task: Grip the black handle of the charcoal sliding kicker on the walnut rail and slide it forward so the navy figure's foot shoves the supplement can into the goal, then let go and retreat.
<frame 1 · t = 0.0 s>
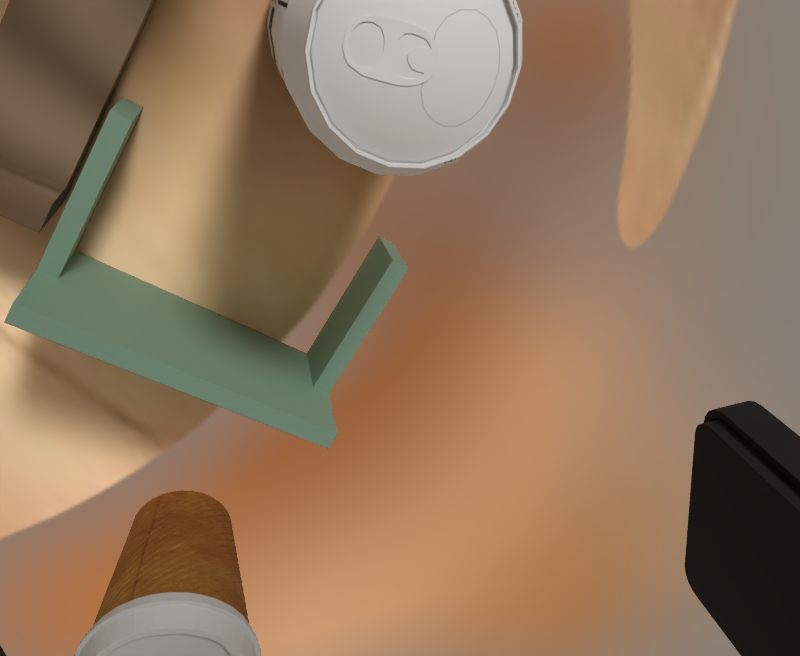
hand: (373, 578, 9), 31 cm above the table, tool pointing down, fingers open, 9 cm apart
disposable coffee cup: (183, 526, 47), on the table
supplement can: (349, 29, 35), on the table
goal: (229, 250, 39), on the table
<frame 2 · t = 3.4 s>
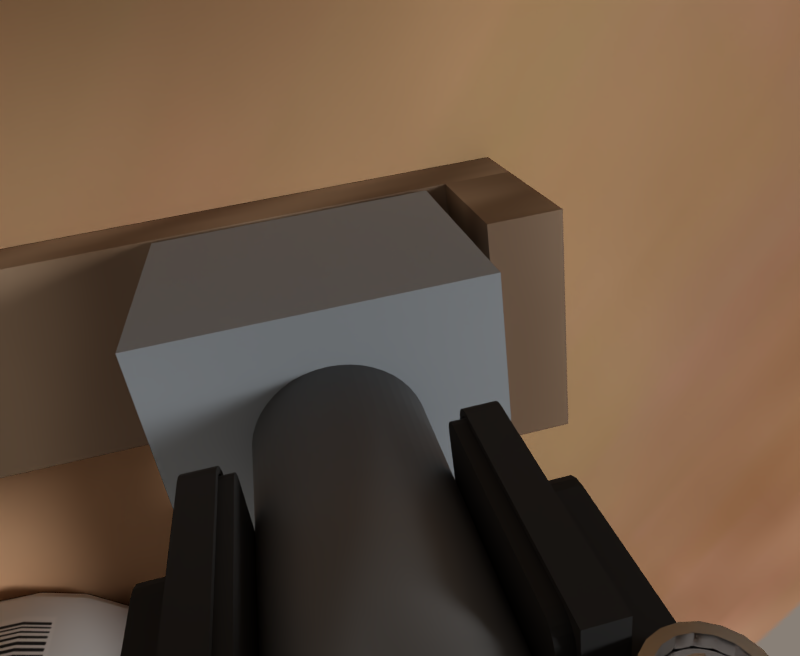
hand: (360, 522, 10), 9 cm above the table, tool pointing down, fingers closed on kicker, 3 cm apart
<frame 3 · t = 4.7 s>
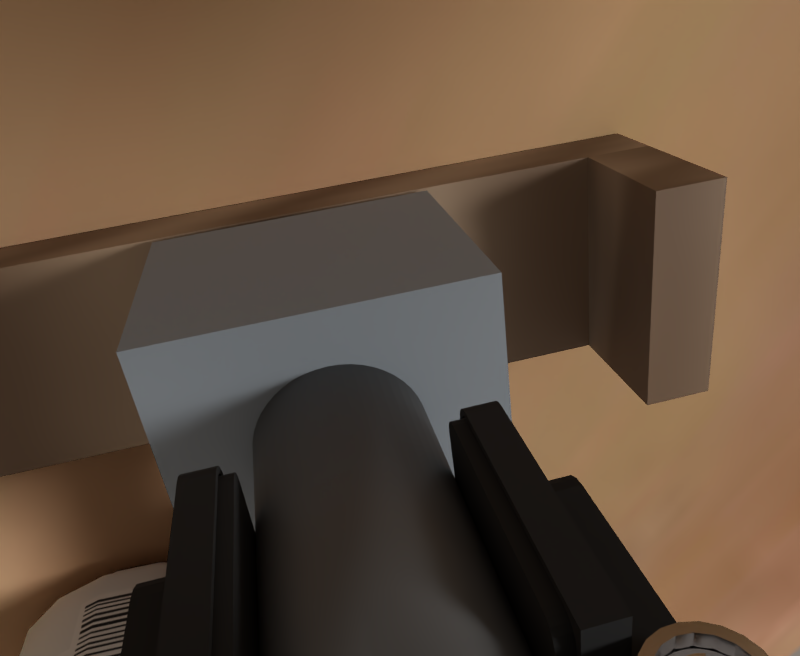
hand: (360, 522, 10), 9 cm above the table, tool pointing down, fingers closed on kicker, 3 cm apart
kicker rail: (39, 344, 17), on the table
supplement can: (167, 641, 22), on the table
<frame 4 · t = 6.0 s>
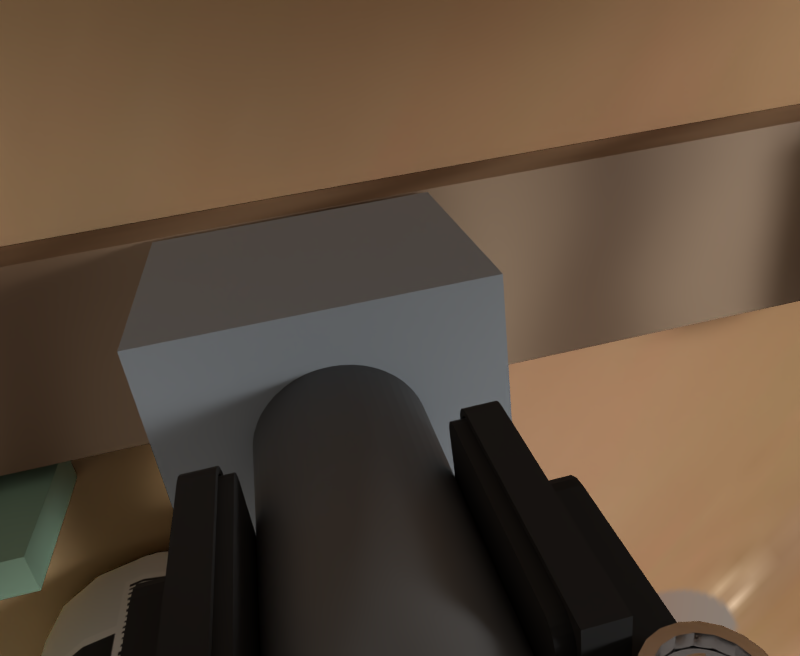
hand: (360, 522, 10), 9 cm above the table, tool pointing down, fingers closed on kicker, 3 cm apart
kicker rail: (366, 279, 18), on the table
supplement can: (193, 627, 22), on the table, touching kicker
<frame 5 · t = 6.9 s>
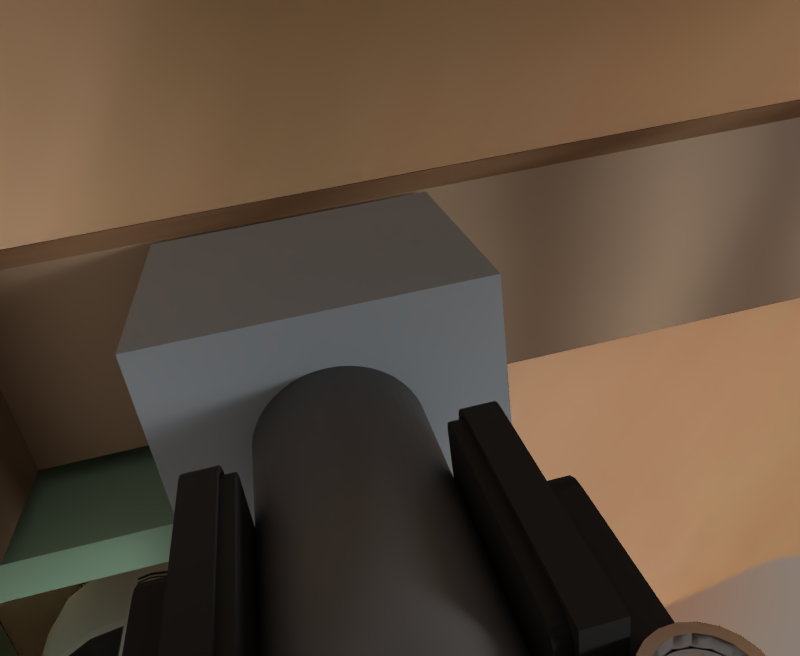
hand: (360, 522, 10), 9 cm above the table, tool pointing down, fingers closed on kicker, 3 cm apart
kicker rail: (544, 242, 19), on the table
supplement can: (195, 623, 22), on the table, touching kicker
goal: (158, 651, 22), on the table
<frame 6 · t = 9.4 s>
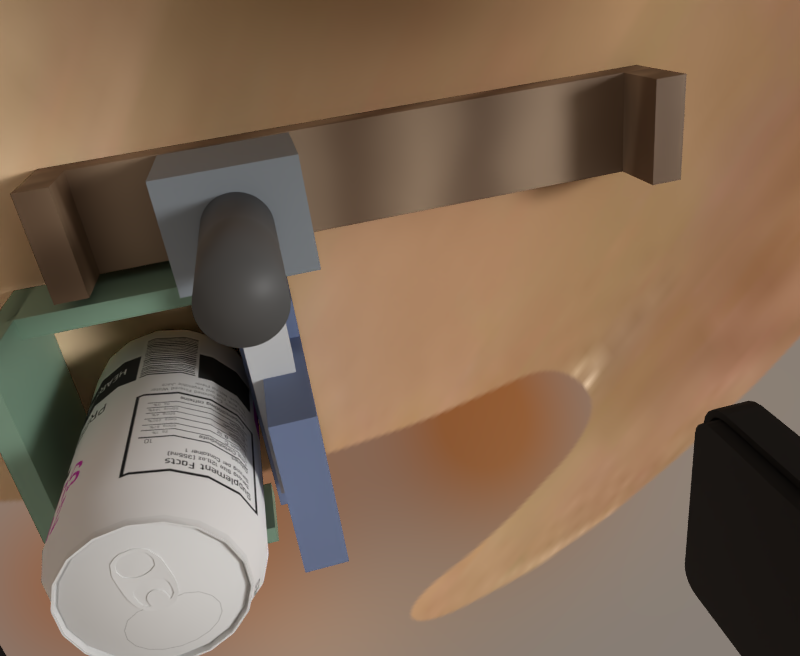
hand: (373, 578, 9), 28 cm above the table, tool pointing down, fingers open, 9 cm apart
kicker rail: (362, 164, 36), on the table
supplement can: (179, 389, 39), on the table
goal: (158, 404, 39), on the table
kicker: (276, 386, 31), point 8 cm above the table, slide at 16.4 cm
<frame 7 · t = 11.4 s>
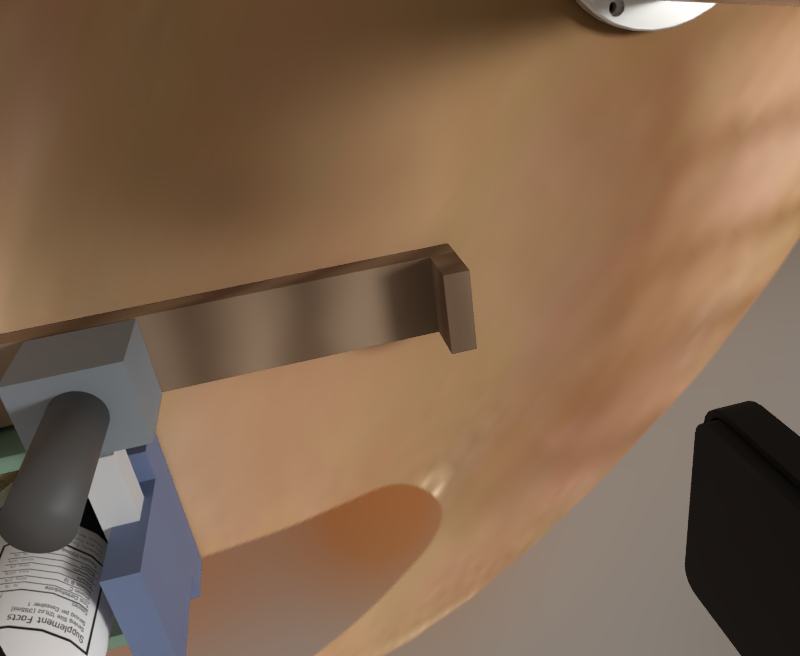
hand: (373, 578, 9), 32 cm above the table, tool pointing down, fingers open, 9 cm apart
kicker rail: (210, 331, 42), on the table
supplement can: (66, 510, 46), on the table
goal: (48, 523, 45), on the table
kicker: (121, 534, 38), point 7 cm above the table, slide at 16.4 cm
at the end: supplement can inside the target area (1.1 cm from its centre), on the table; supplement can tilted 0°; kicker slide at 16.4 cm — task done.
